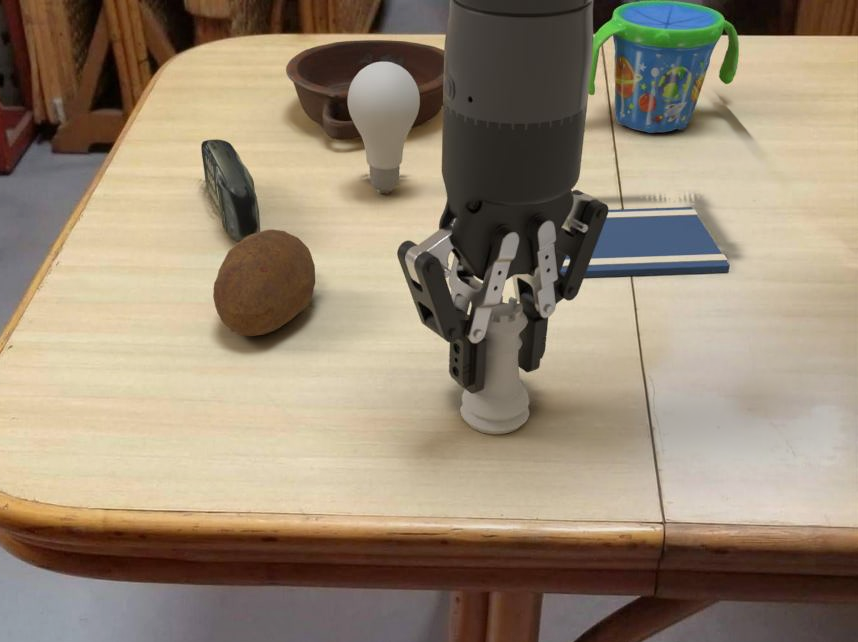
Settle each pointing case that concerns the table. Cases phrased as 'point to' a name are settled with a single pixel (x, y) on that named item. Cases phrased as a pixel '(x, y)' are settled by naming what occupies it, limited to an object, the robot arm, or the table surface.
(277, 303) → the potato
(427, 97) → the dish
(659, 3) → the snack cup
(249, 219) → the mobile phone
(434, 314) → the robot arm
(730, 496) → the table surface
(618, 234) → the towel
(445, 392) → the table surface
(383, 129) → the lightbulb
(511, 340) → the rook chess piece
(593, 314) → the table surface
